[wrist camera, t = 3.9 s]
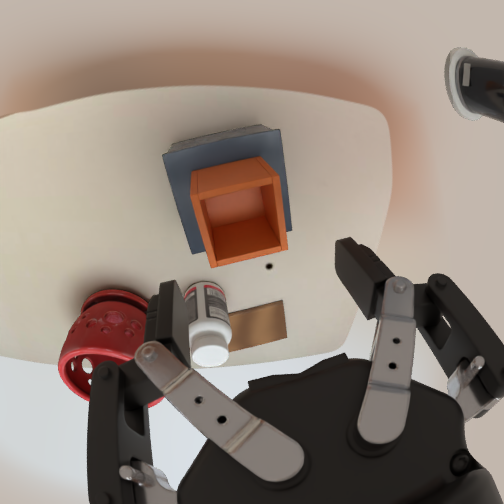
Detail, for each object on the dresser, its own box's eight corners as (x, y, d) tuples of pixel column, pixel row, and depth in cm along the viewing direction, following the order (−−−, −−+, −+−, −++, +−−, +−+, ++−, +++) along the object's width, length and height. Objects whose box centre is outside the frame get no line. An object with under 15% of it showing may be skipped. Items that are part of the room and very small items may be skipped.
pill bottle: (192, 315, 37) (195, 374, 29) (177, 287, 34) (176, 348, 26) (229, 305, 37) (241, 363, 29) (218, 275, 34) (227, 335, 26)
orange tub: (260, 155, 21) (279, 175, 17) (269, 217, 24) (288, 249, 20) (191, 171, 21) (189, 195, 16) (207, 231, 24) (211, 268, 19)
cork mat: (282, 300, 38) (283, 302, 38) (286, 334, 43) (287, 337, 42) (198, 320, 38) (198, 323, 37) (213, 352, 42) (213, 355, 41)
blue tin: (263, 121, 25) (280, 129, 20) (275, 205, 30) (292, 230, 25) (169, 142, 25) (162, 155, 20) (192, 225, 30) (192, 254, 25)
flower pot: (165, 348, 40) (165, 417, 30) (85, 336, 36) (70, 402, 26) (173, 284, 34) (170, 363, 24) (75, 269, 30) (43, 341, 20)
